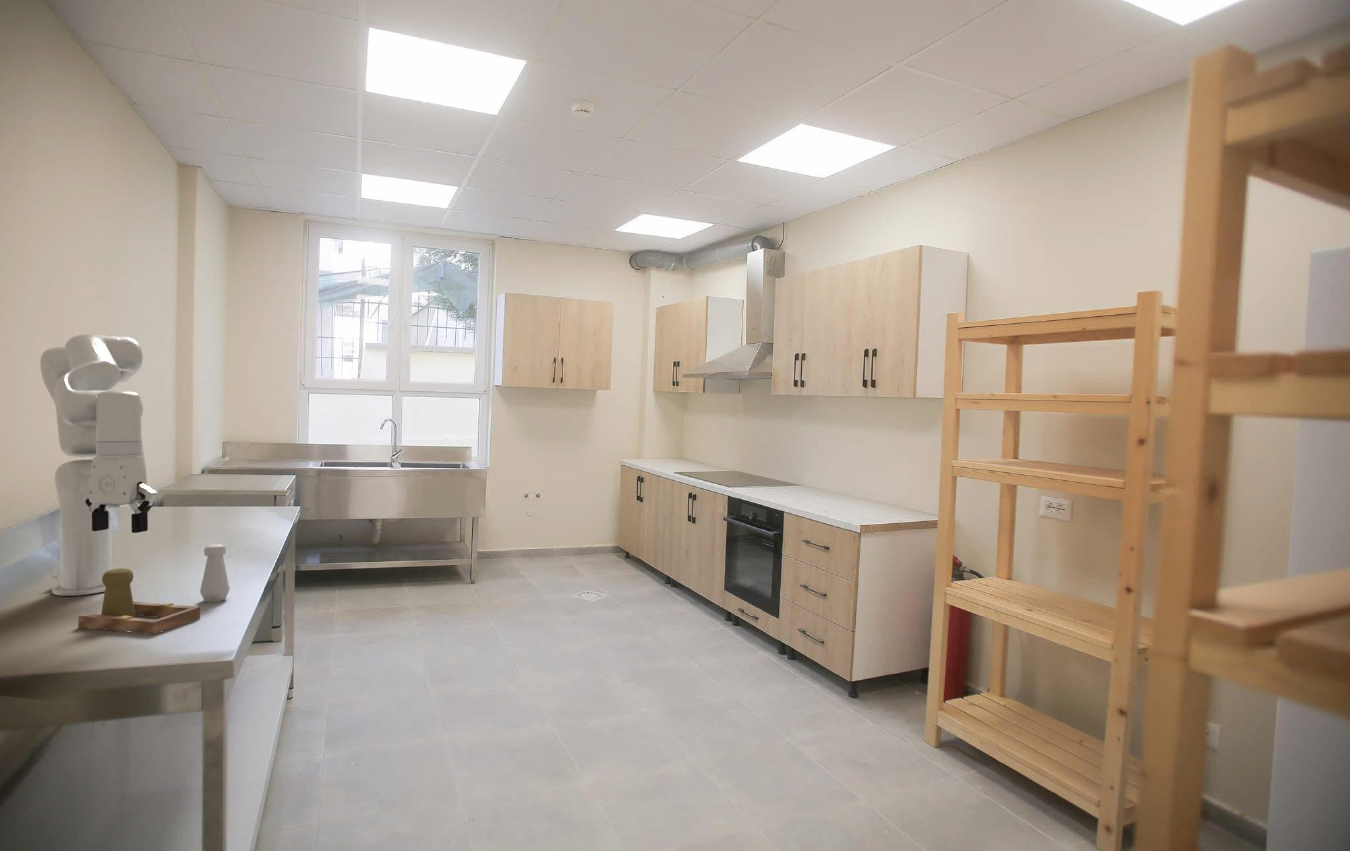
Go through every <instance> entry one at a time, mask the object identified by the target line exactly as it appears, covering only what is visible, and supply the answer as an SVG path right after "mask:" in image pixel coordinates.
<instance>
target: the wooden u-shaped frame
mask: <svg viewBox="0 0 1350 851" xmlns="http://www.w3.org/2000/svg"><path fill="white" fill-rule="evenodd" d="M133 604H134V610H135V616H137V615H143V616H142V617H148V616H157V617H156V618H157V619H152V618H151V619H150V618H141V617H140V618H139V617H136V618H133V616H121V617H119V616H108V615H101V614H95V613H94V614H93V613H82V614H79V615H78V616H77V623H78V625H77V626H78V627H79V628H78V627H77V628H78V629H86V628H88V629H89V630H97V629H106V630H105V631H108V630H115V631H114V632H119V631H131V632H137V633H136V634H140V633H149V634H148V635H151V634H155V635H158V634H160V632H161V631H164V632H166V631H165V630H167V631H169V630H172V629H174V628H173V627H175V628H177V626H178V627H180V626H183V625H185V623H186V624H189V623H191V622H190V621H192V622H194V621H197V620H199V619H201V606H193V605H192V606H191V605H179V604H174V603H171V602H163V603H156V602H144V601H134V600H133ZM159 617H163V618H159ZM196 619H197V620H196ZM188 622H189V623H188ZM182 624H183V625H182ZM179 625H180V626H179ZM171 628H172V629H171ZM168 629H169V630H168ZM157 633H158V634H157ZM161 633H162V632H161Z"/></svg>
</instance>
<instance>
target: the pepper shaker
mask: <svg viewBox="0 0 1350 851" xmlns="http://www.w3.org/2000/svg"><path fill="white" fill-rule="evenodd" d="M133 580H134V573H133V571H132V570H131V569H130V568H121V567H120V568H112V569H111V570H109V571H107V572H105V573H104V575H103V577H102V582H103V584H104V585H105V586H106V587H105V591H104V594H103V595H104V596H103V601H102V607H101V614H100V615H108V616H119V617H121V616H133V618H137V617H136V616H137V615H135V610H134V604H133V601H134V599H133V593H132V587H131V584H132V582H133Z"/></svg>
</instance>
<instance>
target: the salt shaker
mask: <svg viewBox="0 0 1350 851" xmlns="http://www.w3.org/2000/svg"><path fill="white" fill-rule="evenodd" d="M226 552H227V548H226V546H225V545H224V544H220V543H217V544H216V543H215V544H210V545H206V546H205V547H204V548H203V554H204V556H205V557H207V559H206V563H205V568H204V571H203V576H202V582H201V585H200V590H199V592H200V593H199V594H200V595H201V597H202V599H203V601H204V602H205V603H211V602H212V603H218V602H222V600H223V601H224V600H227V597H228V595H229V592H230V589H231V588H230V585H229V584H230V583H229V579H228V575H227V574H228V573H227V570H226V565H225V564H226V563H225V558H224V555H226Z"/></svg>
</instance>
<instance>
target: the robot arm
mask: <svg viewBox="0 0 1350 851" xmlns="http://www.w3.org/2000/svg"><path fill="white" fill-rule="evenodd" d="M143 357H144V356H143V350H142V348H141V345H140V344H139V342H138V341H137V340H136V339H134V338H132V337H128V336H123V335H121V336H119V335H118V336H117V335H109V334H108V335H106V334H93V333H92V334H87V333H86V334H77V335H75V336H72V337H70V338H69V339H68V340H67V341H66V342H65V344H64V346H56V347H51V348H48V349H46V350H44V351H43V353H42V354H41V356H40V363H39V364H40V371H41V372H40V373H41V377H42V380H43V383H44V385H45V388H46V390H47V391H48V393H49V395H50V397H51V398H52V400H53V403H54V406H55V410H56V411H55V413H56V423H57V433H58V441H59V446H60V449H61V451H62V453H63V454H64V455H65V456H67V457H74V458H90V459H75V460H71V461H66V462H64V463H62V464H60V466H58V467H57V468H56V471H55V472H54V482H55V483H54V484H55V488H56V492H57V498H58V506H59V520H60V521H59V524H60V525H59V527H60V531H59V533H60V538H59V539H60V545H59V546H60V570H57V572H56V573H53V574H52V575H51V576H50V579H51V580H54V581H57V585H55V586H54V587H53V588H51V589H52V590H51V591H52V592H51V593H52V594H53V595H56V596H61V597H62V596H63V597H65V596H66V597H70V596H73V597H75V596H83V595H84V596H86V595H92V594H99V593H103V592H104V593H105V587H106V586H105V585H104V584H103V582H102V577H103V575H104V573H105V572H107V571H109V570H112V517H111V514H110V511H109V510H108V509H107V508H108V507H109V506H125V505H128V506H129V507H130V508H131V510H132V511H133V513H131V516H130V517H131V521H130V522H131V532H132V533H133V534H136V533H137V534H138V533H143V532H147V531H148V530H149V524H148V521H149V519H148V518H149V516H148V515H149V513H150V512H151V508H152V507H153V506H154V505H155V502H156V498H157V496H158V492H157V491H156V490H154V489H152V488H151V487H150V486H148V480H147V479H148V477H147V476H148V475H147V468H146V460H145V453H144V452H145V451H144V444H143V438H142V415H143V413H144V412H143V411H144V405H143V401H142V399H141V396H140V394H139V393H137V392H135V391H129V390H128V391H127V390H113V388H114V387H116V386H117V385H118V384H119V383H124V382H127V381H129V380H130V379H131V378H132V377H133V376H134V375H135V374H136V373H137V372H139V369H140V368H141V366H142V363H143ZM111 389H112V390H111ZM91 458H92V459H91Z"/></svg>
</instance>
